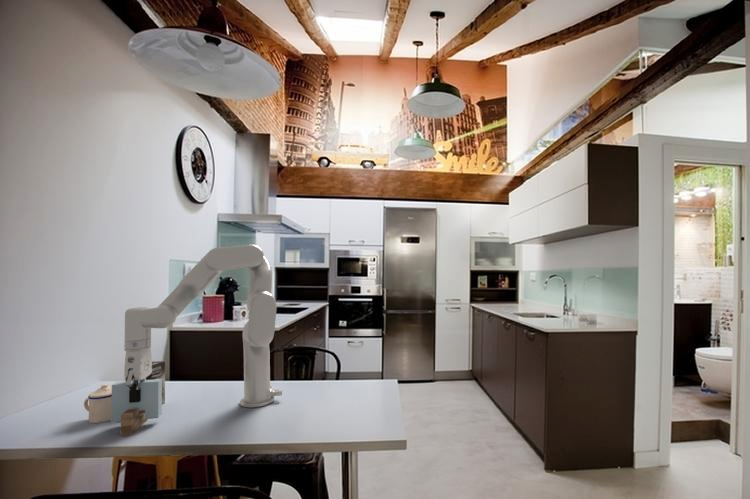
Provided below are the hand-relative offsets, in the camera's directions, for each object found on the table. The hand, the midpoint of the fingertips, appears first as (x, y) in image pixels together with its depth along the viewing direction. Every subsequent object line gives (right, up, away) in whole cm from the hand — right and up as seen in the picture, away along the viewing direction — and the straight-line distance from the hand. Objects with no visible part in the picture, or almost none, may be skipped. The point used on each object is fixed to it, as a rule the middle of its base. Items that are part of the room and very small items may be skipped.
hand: (137, 399), depth 121 cm
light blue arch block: (0, -6, 0) cm, 6 cm away
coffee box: (-6, -10, +16) cm, 19 cm away
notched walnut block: (0, -8, 0) cm, 8 cm away
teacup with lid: (-17, -10, +6) cm, 21 cm away
